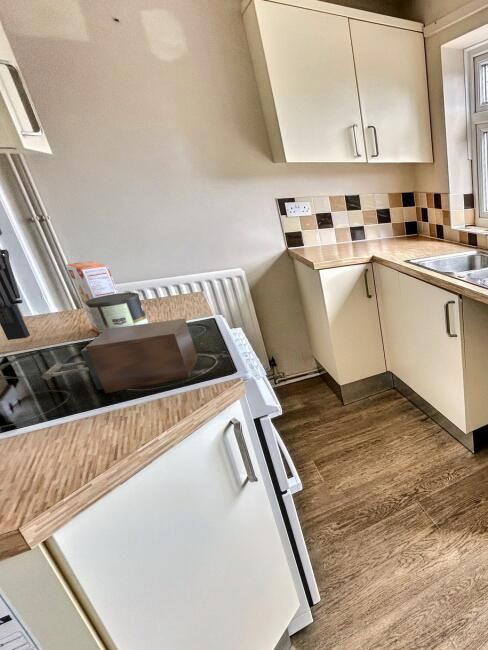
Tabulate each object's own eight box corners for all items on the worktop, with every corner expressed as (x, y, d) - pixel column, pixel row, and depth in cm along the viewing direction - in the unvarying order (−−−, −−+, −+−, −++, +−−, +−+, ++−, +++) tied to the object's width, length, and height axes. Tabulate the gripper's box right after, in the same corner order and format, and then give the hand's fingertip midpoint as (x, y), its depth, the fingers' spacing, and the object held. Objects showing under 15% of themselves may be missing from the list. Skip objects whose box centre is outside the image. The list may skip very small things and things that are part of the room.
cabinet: (105, 393, 88) (85, 346, 84) (123, 371, 99) (106, 329, 95) (189, 377, 94) (174, 333, 91) (198, 358, 105) (185, 318, 101)
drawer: (44, 399, 84) (24, 359, 81) (67, 378, 94) (51, 341, 91) (176, 375, 94) (163, 338, 90) (185, 357, 103) (174, 324, 100)
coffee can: (143, 339, 120) (125, 291, 114) (164, 344, 115) (146, 294, 110) (98, 352, 111) (76, 300, 106) (119, 358, 107) (97, 304, 102)
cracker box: (93, 334, 125) (64, 264, 118) (119, 328, 130) (93, 260, 122) (108, 342, 118) (78, 268, 110) (135, 335, 123) (108, 264, 115)
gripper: (-30, 217, 72) (29, 344, 81) (10, 212, 83) (58, 325, 91) (-96, 219, 69) (-27, 352, 77) (-46, 213, 80) (10, 331, 88)
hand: (19, 337), depth 84 cm, fingers closed
